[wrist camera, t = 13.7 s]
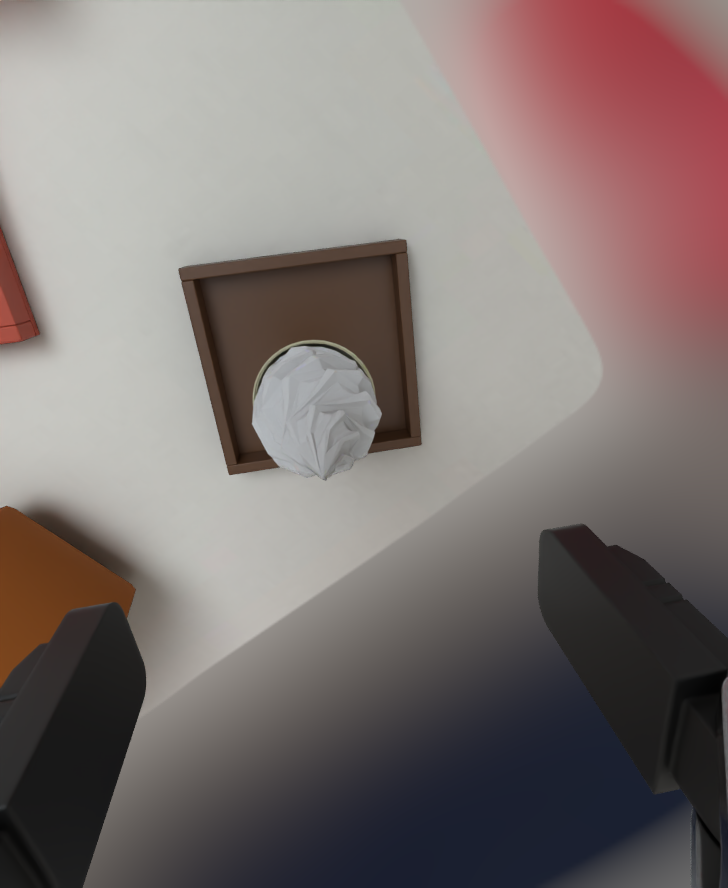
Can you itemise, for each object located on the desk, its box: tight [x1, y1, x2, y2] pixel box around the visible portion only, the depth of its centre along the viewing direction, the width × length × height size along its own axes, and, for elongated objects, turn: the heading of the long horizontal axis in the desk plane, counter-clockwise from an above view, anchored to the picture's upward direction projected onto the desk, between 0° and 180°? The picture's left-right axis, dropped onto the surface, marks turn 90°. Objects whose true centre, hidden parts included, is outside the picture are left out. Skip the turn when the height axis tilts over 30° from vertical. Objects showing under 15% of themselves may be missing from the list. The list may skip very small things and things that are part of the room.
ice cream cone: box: [252, 340, 382, 480], centre depth 21 cm, size 5×5×15 cm
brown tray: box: [178, 239, 422, 475], centre depth 28 cm, size 11×11×2 cm
